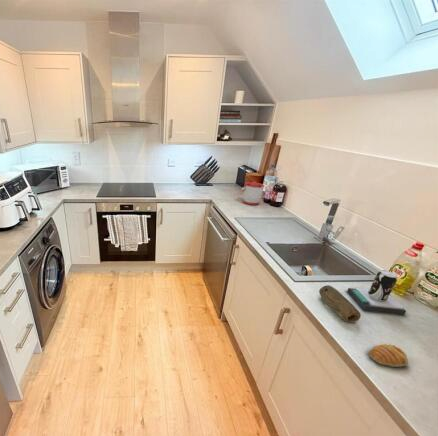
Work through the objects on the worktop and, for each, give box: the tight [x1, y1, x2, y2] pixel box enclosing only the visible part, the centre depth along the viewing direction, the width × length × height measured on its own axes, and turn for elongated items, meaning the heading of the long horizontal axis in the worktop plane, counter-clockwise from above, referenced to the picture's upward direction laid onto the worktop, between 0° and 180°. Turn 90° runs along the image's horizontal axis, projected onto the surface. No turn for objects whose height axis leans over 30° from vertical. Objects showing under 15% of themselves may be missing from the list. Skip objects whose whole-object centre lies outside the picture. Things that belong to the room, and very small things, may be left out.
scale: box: [346, 287, 407, 316], centre depth 97 cm, size 14×11×3 cm
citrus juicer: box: [241, 180, 265, 206], centre depth 204 cm, size 16×17×20 cm
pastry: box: [368, 344, 410, 368], centre depth 74 cm, size 9×7×4 cm
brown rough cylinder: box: [318, 284, 362, 323], centre depth 93 cm, size 15×7×7 cm, turn 5°
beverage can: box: [368, 269, 398, 301], centre depth 93 cm, size 6×6×12 cm
